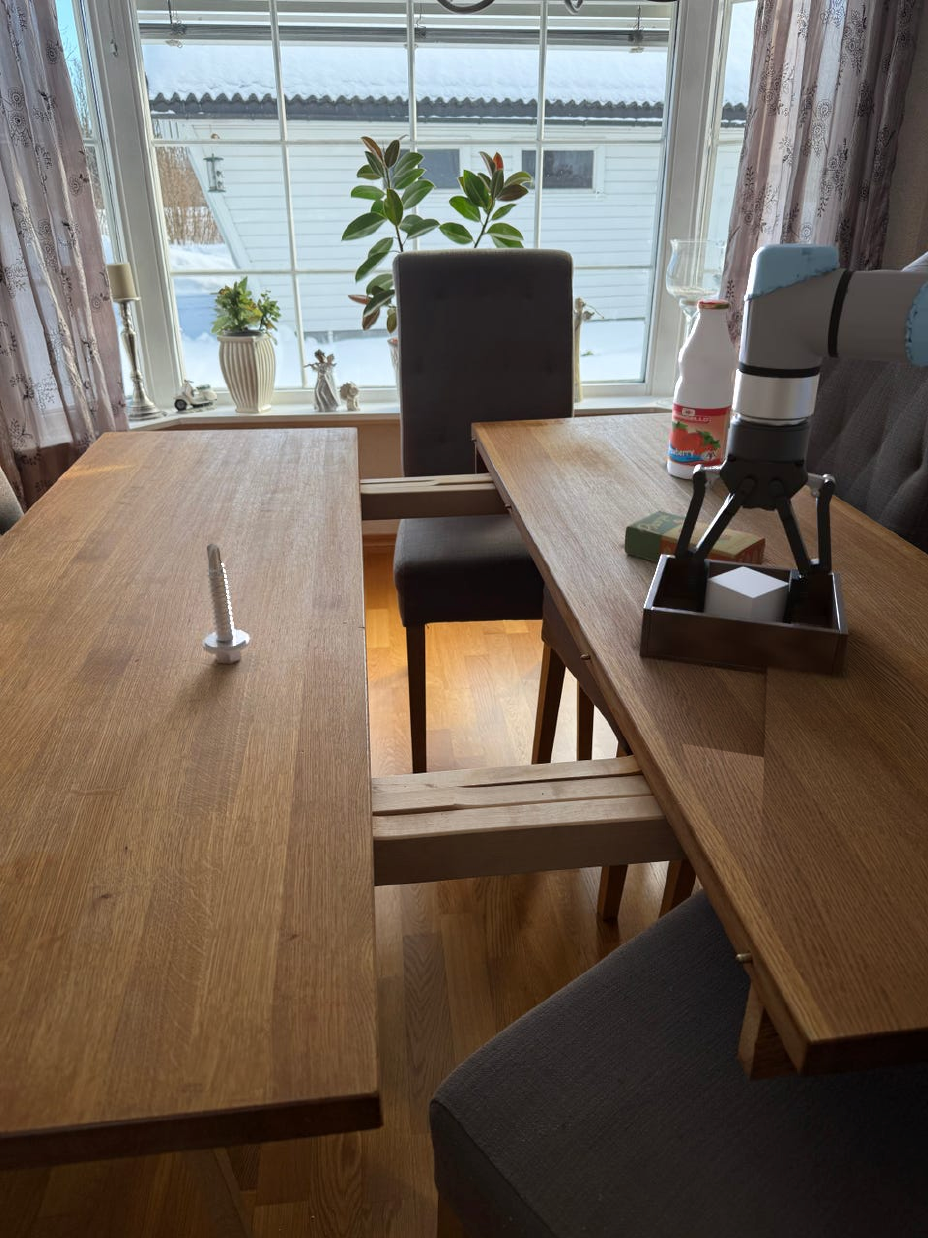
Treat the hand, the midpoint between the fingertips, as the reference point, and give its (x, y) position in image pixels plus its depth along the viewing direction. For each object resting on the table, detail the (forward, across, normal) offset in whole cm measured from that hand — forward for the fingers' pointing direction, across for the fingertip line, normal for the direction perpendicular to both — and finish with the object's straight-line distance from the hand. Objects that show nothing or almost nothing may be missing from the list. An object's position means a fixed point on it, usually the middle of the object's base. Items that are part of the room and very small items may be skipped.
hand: (741, 624), depth 96 cm
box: (+2, 0, 0) cm, 2 cm away
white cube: (+1, 0, 0) cm, 1 cm away
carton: (+2, +7, -21) cm, 22 cm away
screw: (+2, +51, +21) cm, 55 cm away
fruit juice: (+2, +10, -61) cm, 62 cm away
